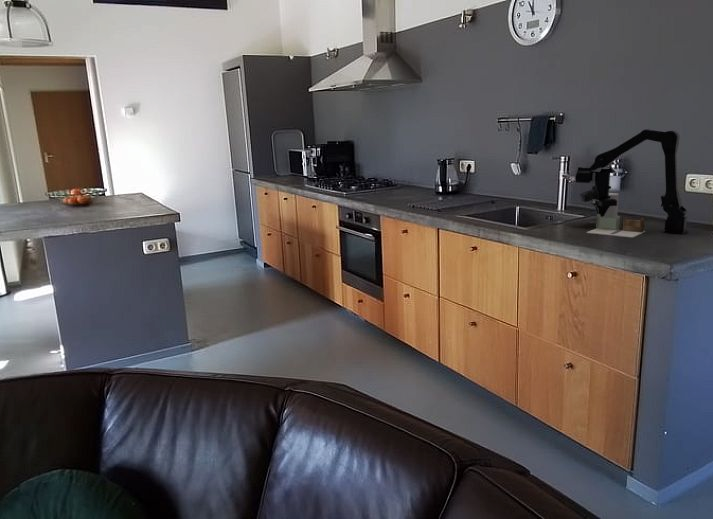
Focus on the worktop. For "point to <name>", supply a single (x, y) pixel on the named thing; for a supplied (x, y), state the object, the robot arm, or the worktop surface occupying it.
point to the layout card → (615, 232)
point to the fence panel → (608, 222)
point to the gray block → (612, 207)
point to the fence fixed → (631, 225)
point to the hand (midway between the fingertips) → (599, 220)
